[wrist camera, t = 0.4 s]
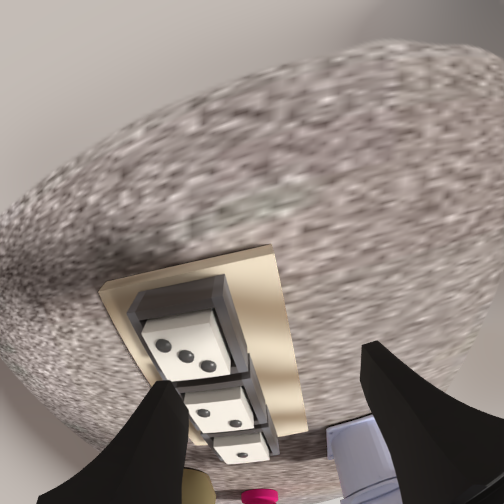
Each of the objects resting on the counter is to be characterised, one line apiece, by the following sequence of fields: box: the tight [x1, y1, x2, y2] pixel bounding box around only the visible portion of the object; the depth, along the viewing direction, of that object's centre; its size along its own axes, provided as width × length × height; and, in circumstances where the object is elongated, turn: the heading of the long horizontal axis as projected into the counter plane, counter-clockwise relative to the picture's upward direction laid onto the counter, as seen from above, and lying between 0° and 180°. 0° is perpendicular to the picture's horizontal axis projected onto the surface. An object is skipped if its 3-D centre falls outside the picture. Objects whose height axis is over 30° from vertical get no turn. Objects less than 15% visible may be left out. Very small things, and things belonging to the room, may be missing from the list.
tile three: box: [141, 307, 231, 381], centre depth 16 cm, size 4×4×2 cm
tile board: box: [98, 244, 308, 461], centre depth 20 cm, size 20×12×4 cm, turn 13°
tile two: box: [184, 385, 254, 433], centre depth 18 cm, size 4×4×2 cm
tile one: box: [213, 432, 269, 464], centre depth 21 cm, size 4×4×2 cm
